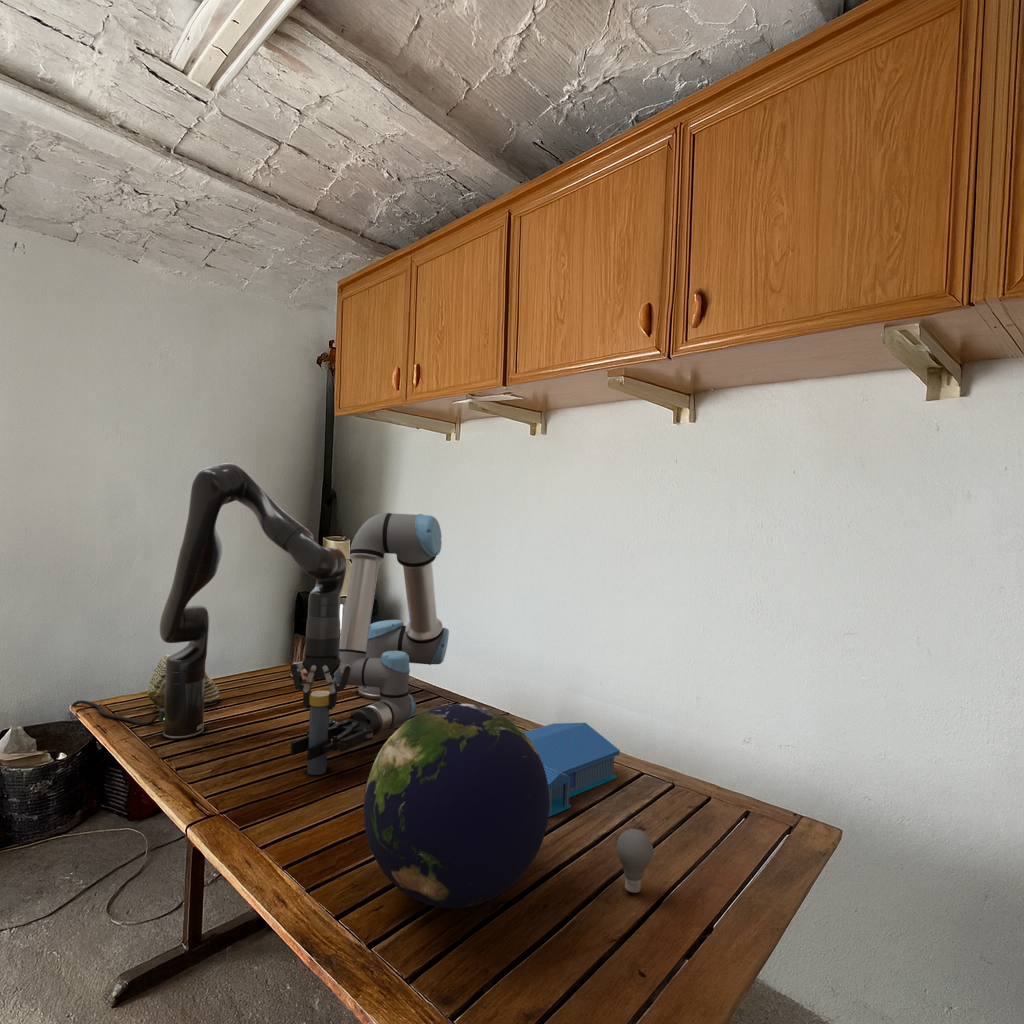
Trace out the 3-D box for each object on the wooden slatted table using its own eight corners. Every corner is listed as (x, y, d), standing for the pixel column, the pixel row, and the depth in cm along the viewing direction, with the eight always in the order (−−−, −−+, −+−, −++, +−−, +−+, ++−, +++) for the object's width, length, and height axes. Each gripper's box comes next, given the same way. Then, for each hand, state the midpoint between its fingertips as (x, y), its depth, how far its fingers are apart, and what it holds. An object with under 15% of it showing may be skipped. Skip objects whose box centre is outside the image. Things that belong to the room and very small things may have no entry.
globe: (319, 919, 95) (326, 721, 95) (420, 827, 123) (427, 673, 122) (502, 984, 84) (511, 760, 83) (568, 867, 112) (576, 698, 111)
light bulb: (610, 879, 108) (613, 822, 108) (644, 879, 109) (647, 822, 109) (619, 902, 102) (622, 840, 102) (655, 901, 103) (658, 840, 103)
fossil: (144, 707, 182) (145, 655, 182) (212, 696, 194) (213, 647, 194) (151, 716, 175) (153, 662, 175) (221, 703, 188) (223, 653, 188)
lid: (308, 700, 147) (309, 690, 147) (330, 699, 149) (330, 689, 149) (308, 707, 143) (309, 697, 143) (331, 706, 144) (331, 696, 144)
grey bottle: (312, 766, 148) (315, 692, 148) (329, 768, 148) (333, 694, 147) (303, 774, 144) (307, 697, 144) (321, 776, 143) (324, 699, 143)
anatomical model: (285, 666, 217) (303, 658, 228) (285, 677, 217) (303, 669, 228) (321, 670, 214) (337, 661, 225) (321, 681, 214) (337, 673, 225)
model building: (501, 837, 120) (504, 785, 120) (427, 790, 139) (429, 744, 138) (628, 782, 147) (630, 739, 147) (552, 748, 165) (553, 710, 165)
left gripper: (286, 636, 141) (283, 712, 142) (350, 638, 142) (347, 714, 142) (296, 629, 149) (293, 702, 149) (357, 632, 150) (354, 704, 150)
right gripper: (396, 743, 158) (328, 777, 137) (343, 728, 166) (271, 759, 145) (397, 713, 158) (330, 743, 137) (344, 700, 166) (273, 726, 145)
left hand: (319, 707), depth 146 cm, fingers closed on lid, 4 cm apart
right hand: (300, 751), depth 141 cm, fingers closed on grey bottle, 4 cm apart
